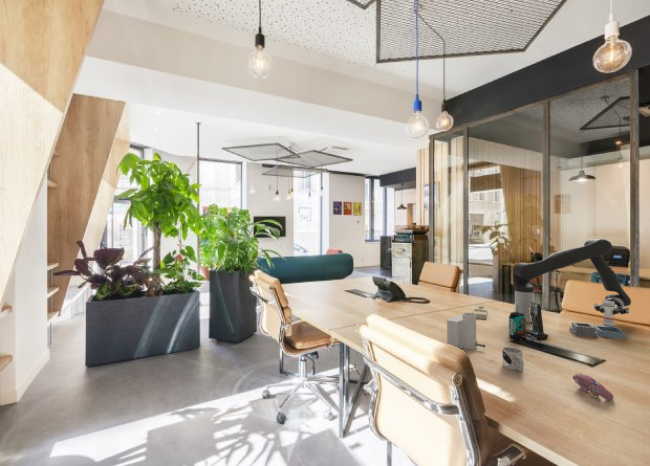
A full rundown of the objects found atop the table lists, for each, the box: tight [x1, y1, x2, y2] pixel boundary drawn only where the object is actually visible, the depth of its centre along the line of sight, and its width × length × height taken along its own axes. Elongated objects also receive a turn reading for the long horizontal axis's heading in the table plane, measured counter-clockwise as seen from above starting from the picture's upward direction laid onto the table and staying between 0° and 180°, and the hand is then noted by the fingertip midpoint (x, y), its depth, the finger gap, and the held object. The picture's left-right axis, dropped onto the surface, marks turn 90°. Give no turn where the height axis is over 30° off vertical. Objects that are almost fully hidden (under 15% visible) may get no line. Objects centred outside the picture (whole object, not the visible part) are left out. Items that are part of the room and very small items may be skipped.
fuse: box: [602, 300, 616, 327], centre depth 157 cm, size 4×4×12 cm
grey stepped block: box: [446, 312, 486, 350], centre depth 144 cm, size 12×14×15 cm
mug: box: [502, 346, 525, 372], centre depth 121 cm, size 10×7×7 cm
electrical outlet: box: [473, 305, 489, 320], centre depth 196 cm, size 7×4×18 cm
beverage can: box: [508, 311, 527, 341], centre depth 154 cm, size 7×7×12 cm
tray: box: [592, 325, 627, 340], centre depth 157 cm, size 10×10×3 cm
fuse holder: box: [569, 321, 599, 339], centre depth 159 cm, size 9×9×4 cm
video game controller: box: [572, 372, 614, 401], centre depth 102 cm, size 10×5×7 cm, turn 6°
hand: (608, 311), depth 155 cm, fingers closed on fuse, 4 cm apart
